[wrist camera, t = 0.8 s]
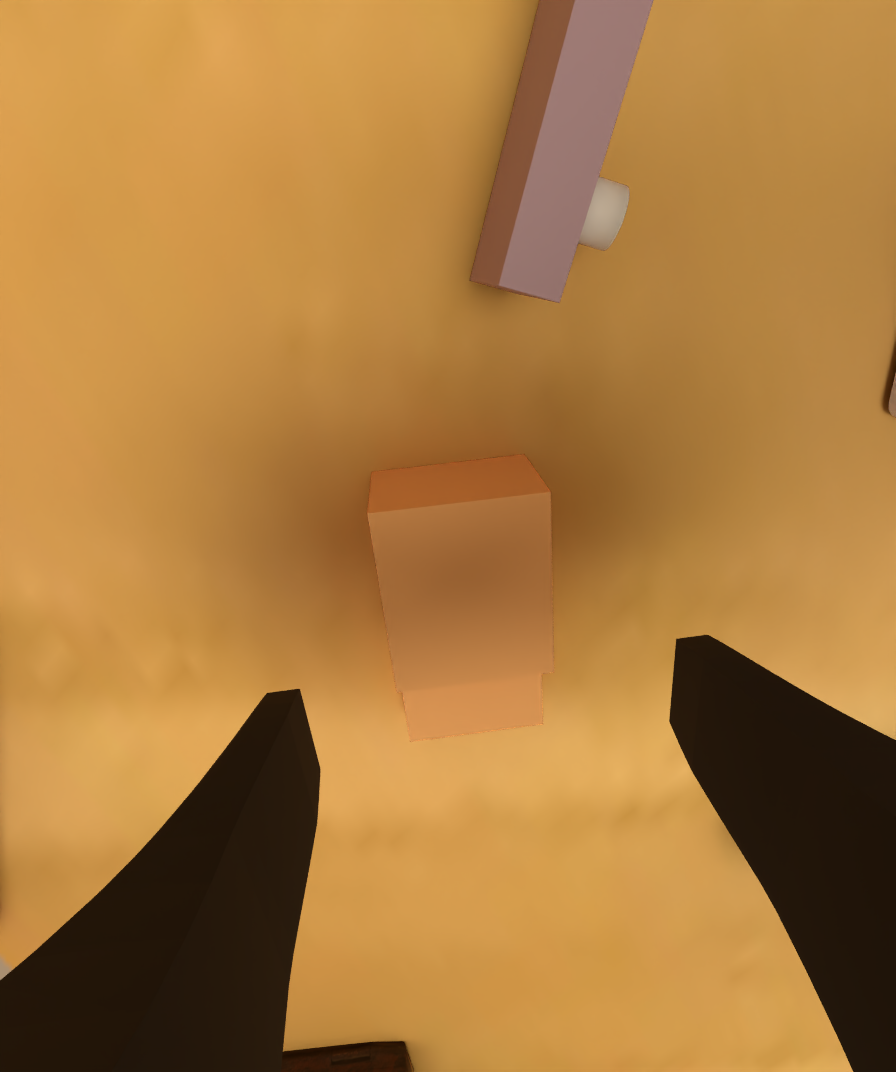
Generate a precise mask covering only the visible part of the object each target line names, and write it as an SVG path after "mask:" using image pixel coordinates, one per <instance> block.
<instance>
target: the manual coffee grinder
mask: <svg viewBox="0 0 896 1072" xmlns="http://www.w3.org/2000/svg"><path fill="white" fill-rule="evenodd" d="M281 1072H414V1069H413V1066H412V1064H411V1061H410V1058H409V1055H408V1053H407V1050H406V1047H405V1044H404V1042H367V1043H357V1044H348V1045H340V1046H331V1047H321V1048H312V1049H303V1050H294V1051H285V1052H283V1053H282V1066H281Z"/></svg>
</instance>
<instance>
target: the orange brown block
mask: <svg viewBox="0 0 896 1072" xmlns="http://www.w3.org/2000/svg"><path fill="white" fill-rule="evenodd" d="M367 515H368V521H369V527H370V534H371V540H372V546H373V552H374V558H375V564H376V570H377V576H378V582H379V588H380V594H381V600H382V607H383V613H384V619H385V625H386V631H387V637H388V643H389V649H390V655H391V661H392V667H393V673H394V680H395V686H396V692H397V693H399V692H402V694H403V701H404V707H405V713H406V719H407V726H408V732H409V738H410V742H413V741H420V740H428V739H435V738H443V737H451V736H458V735H466V734H473V733H481V732H488V731H496V730H503V729H511V728H518V727H526V726H533V725H541V724H543V700H542V674H546V673H554V636H553V583H552V530H551V492H550V490H549V489H548V487H547V486H546V484H545V483H544V482H543V480H542V479H541V477H540V476H539V474H538V473H537V472H536V470H535V469H534V467H533V466H532V464H531V463H530V461H529V460H528V459H527V457H526V456H525V454H522V455H513V456H504V457H495V458H487V459H478V460H469V461H461V462H452V463H443V464H435V465H426V466H417V467H409V468H400V469H391V470H383V471H374V472H372V474H371V484H370V493H369V502H368V511H367Z"/></svg>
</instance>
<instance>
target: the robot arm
mask: <svg viewBox="0 0 896 1072" xmlns="http://www.w3.org/2000/svg"><path fill="white" fill-rule="evenodd" d="M889 411H890V413H891V415H893V416H894V417H896V373H895V378H894V382H893V387H892V391H891V396H890V400H889ZM669 722H670V724H671V726H672V729H673V731H674V733H675V735H676V738H677V740H678V742H679V745H680V747H681V749H682V751H683V753H684V755H685V758H686V760H687V762H688V764H689V766H690V768H691V770H692V772H693V774H694V775H695V777H696V779H697V780H698V782H699V784H700V785H701V787H702V789H703V790H704V792H705V794H706V795H707V797H708V799H709V800H710V802H711V804H712V805H713V807H714V808H715V810H716V812H717V813H718V815H719V817H720V818H721V820H722V821H723V823H724V825H725V826H726V828H727V830H728V831H729V833H730V834H731V836H732V838H733V839H734V841H735V842H736V844H737V846H738V847H739V849H740V851H741V852H742V854H743V855H744V857H745V859H746V860H747V862H748V864H749V865H750V867H751V868H752V870H753V872H754V873H755V875H756V876H757V878H758V880H759V881H760V883H761V885H762V886H763V888H764V890H765V892H766V894H767V895H768V897H769V899H770V901H771V902H772V904H773V906H774V908H775V909H776V911H777V913H778V915H779V917H780V919H781V921H782V923H783V925H784V927H785V929H786V931H787V933H788V935H789V937H790V939H791V941H792V943H793V945H794V947H795V949H796V951H797V953H798V955H799V957H800V959H801V961H802V963H803V965H804V967H805V969H806V971H807V973H808V975H809V977H810V980H811V982H812V984H813V986H814V988H815V990H816V992H817V994H818V996H819V999H820V1001H821V1003H822V1005H823V1007H824V1009H825V1011H826V1013H827V1015H828V1018H829V1020H830V1022H831V1024H832V1026H833V1028H834V1030H835V1032H836V1034H837V1037H838V1039H839V1041H840V1043H841V1045H842V1047H843V1050H844V1052H845V1054H846V1056H847V1059H848V1061H849V1063H850V1065H851V1068H852V1070H853V1072H896V740H894V739H892V738H890V737H888V736H886V735H884V734H882V733H880V732H878V731H876V730H874V729H873V728H871V727H869V726H867V725H865V724H863V723H861V722H859V721H857V720H855V719H853V718H851V717H850V716H848V715H846V714H844V713H842V712H840V711H838V710H836V709H835V708H833V707H831V706H829V705H827V704H826V703H824V702H822V701H820V700H818V699H817V698H815V697H813V696H811V695H810V694H808V693H806V692H804V691H803V690H801V689H799V688H798V687H796V686H794V685H792V684H791V683H789V682H787V681H786V680H784V679H782V678H780V677H779V676H777V675H775V674H774V673H772V672H770V671H769V670H767V669H765V668H764V667H762V666H760V665H759V664H757V663H755V662H754V661H752V660H750V659H749V658H747V657H745V656H744V655H742V654H740V653H739V652H737V651H735V650H734V649H732V648H730V647H729V646H727V645H725V644H723V643H722V642H720V641H718V640H716V639H714V638H713V637H711V636H709V635H702V636H695V637H687V638H679V639H676V649H675V661H674V672H673V684H672V696H671V708H670V720H669ZM319 786H320V766H319V762H318V758H317V754H316V750H315V746H314V742H313V739H312V735H311V731H310V727H309V723H308V719H307V715H306V711H305V707H304V703H303V700H302V696H301V692H300V689H294V690H287V691H279V692H271V693H267V694H266V695H265V696H264V698H263V699H262V700H261V701H260V703H259V704H258V705H257V707H256V708H255V709H254V711H253V712H252V713H251V715H250V716H249V718H248V719H247V720H246V722H245V723H244V724H243V726H242V727H241V728H240V730H239V731H238V733H237V734H236V735H235V737H234V738H233V739H232V741H231V742H230V743H229V745H228V746H227V747H226V749H225V750H224V751H223V753H222V754H221V755H220V756H219V758H218V759H217V760H216V762H215V763H214V764H213V765H212V767H211V768H210V769H209V771H208V772H207V773H206V774H205V776H204V777H203V778H202V780H201V781H200V782H199V783H198V785H197V786H196V787H195V788H194V790H193V791H192V792H191V793H190V794H189V796H188V797H187V798H186V799H185V800H184V801H183V803H182V804H181V805H180V806H179V807H178V809H177V810H176V811H175V812H174V813H173V814H172V816H171V817H170V818H169V819H168V820H167V821H166V823H165V824H164V825H163V826H162V827H161V829H160V830H159V831H158V832H157V833H156V834H155V835H154V836H153V837H152V839H151V840H150V841H149V842H148V843H147V844H146V845H145V846H144V847H143V848H142V850H141V851H140V852H139V853H138V854H137V855H136V856H135V857H134V858H133V859H132V860H131V861H130V862H129V863H128V864H127V865H126V866H125V867H124V868H123V869H122V870H121V871H120V872H119V873H118V874H117V875H116V876H115V877H114V878H113V879H112V880H111V881H110V882H109V883H108V884H107V885H106V886H105V887H104V888H103V889H102V890H101V891H100V892H99V893H98V894H97V895H96V896H95V897H94V898H93V899H92V900H91V901H89V902H88V903H87V904H86V905H85V906H84V907H83V908H82V909H81V910H80V911H78V912H77V913H76V914H75V915H74V916H73V917H72V918H71V919H70V920H69V921H67V922H66V923H65V924H64V925H63V926H62V927H61V928H60V929H59V930H58V931H57V932H55V933H54V934H53V935H52V936H51V937H50V938H49V939H48V940H47V941H46V942H44V943H43V944H42V945H41V946H40V947H39V948H38V949H37V950H36V951H34V952H33V953H32V954H31V955H30V956H29V957H28V958H26V959H25V960H24V961H23V962H22V963H20V964H19V965H18V966H17V967H16V968H14V969H13V970H12V971H11V972H10V973H9V974H7V975H6V976H5V977H4V978H3V979H2V980H0V1072H281V1066H282V1053H283V1043H284V1032H285V1021H286V1011H287V1000H288V990H289V981H290V974H291V967H292V960H293V953H294V948H295V942H296V937H297V931H298V926H299V921H300V915H301V910H302V904H303V899H304V893H305V888H306V882H307V877H308V872H309V866H310V860H311V855H312V849H313V844H314V838H315V832H316V826H317V817H318V803H319Z"/></svg>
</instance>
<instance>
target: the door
mask: <svg viewBox="0 0 896 1072" xmlns="http://www.w3.org/2000/svg"><path fill="white" fill-rule="evenodd" d="M652 3H653V0H540V1H539V5H538V9H537V13H536V17H535V21H534V25H533V29H532V33H531V37H530V41H529V45H528V49H527V53H526V57H525V61H524V65H523V69H522V73H521V77H520V81H519V85H518V89H517V93H516V97H515V101H514V105H513V109H512V113H511V117H510V121H509V125H508V129H507V133H506V137H505V141H504V145H503V149H502V153H501V157H500V161H499V165H498V169H497V173H496V177H495V181H494V185H493V189H492V193H491V197H490V201H489V205H488V209H487V213H486V217H485V221H484V225H483V229H482V233H481V237H480V241H479V245H478V249H477V253H476V257H475V261H474V265H473V269H472V273H471V277H470V281H473V282H477V283H480V284H484V285H488V286H491V287H495V288H498V289H502V290H505V291H509V292H512V293H516V294H521V295H525V296H530V297H535V298H539V299H544V300H549V301H553V302H558V303H560V300H561V297H562V293H563V290H564V287H565V284H566V281H567V277H568V274H569V271H570V268H571V264H572V261H573V258H574V255H575V252H576V248H577V245H578V243H579V244H582V245H586V246H589V247H592V248H595V249H599V250H602V251H605V250H606V249H608V248H609V247H610V245H611V244H612V242H613V241H614V239H615V238H616V236H617V234H618V232H619V230H620V227H621V225H622V222H623V220H624V217H625V214H626V210H627V206H628V202H629V187H628V186H626V185H623V184H620V183H617V182H614V181H611V180H608V179H605V178H602V177H599V174H600V171H601V168H602V165H603V161H604V158H605V155H606V152H607V148H608V145H609V142H610V139H611V136H612V132H613V129H614V126H615V123H616V119H617V116H618V113H619V110H620V107H621V103H622V100H623V97H624V94H625V90H626V87H627V84H628V81H629V78H630V74H631V71H632V68H633V65H634V61H635V58H636V55H637V52H638V49H639V45H640V42H641V39H642V36H643V32H644V29H645V26H646V23H647V20H648V16H649V13H650V10H651V7H652Z"/></svg>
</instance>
